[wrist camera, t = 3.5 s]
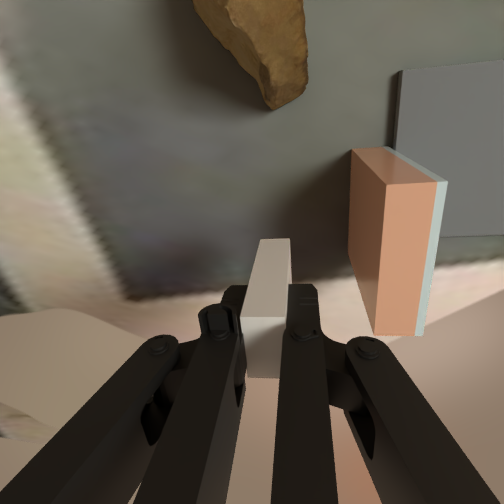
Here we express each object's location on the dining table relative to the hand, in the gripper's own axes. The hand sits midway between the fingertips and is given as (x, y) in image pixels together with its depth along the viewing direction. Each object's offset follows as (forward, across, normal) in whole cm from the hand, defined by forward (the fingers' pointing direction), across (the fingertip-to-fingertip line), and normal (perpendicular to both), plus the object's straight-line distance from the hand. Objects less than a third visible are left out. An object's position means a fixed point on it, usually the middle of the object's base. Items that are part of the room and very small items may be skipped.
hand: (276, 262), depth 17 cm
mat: (+9, +13, +3) cm, 16 cm away
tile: (+9, +6, 0) cm, 11 cm away
